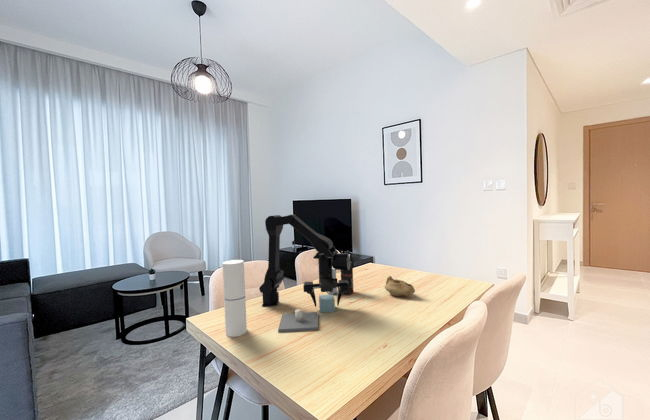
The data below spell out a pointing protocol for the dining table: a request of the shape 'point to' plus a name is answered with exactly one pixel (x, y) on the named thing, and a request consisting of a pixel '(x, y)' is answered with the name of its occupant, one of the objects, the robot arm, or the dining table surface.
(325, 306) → the pale blue cube
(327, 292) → the skincare box
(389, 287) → the brown lumpy piece
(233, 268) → the cylindrical container
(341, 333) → the dining table surface
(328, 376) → the dining table surface
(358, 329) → the dining table surface
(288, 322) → the post stand
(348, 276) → the deodorant
